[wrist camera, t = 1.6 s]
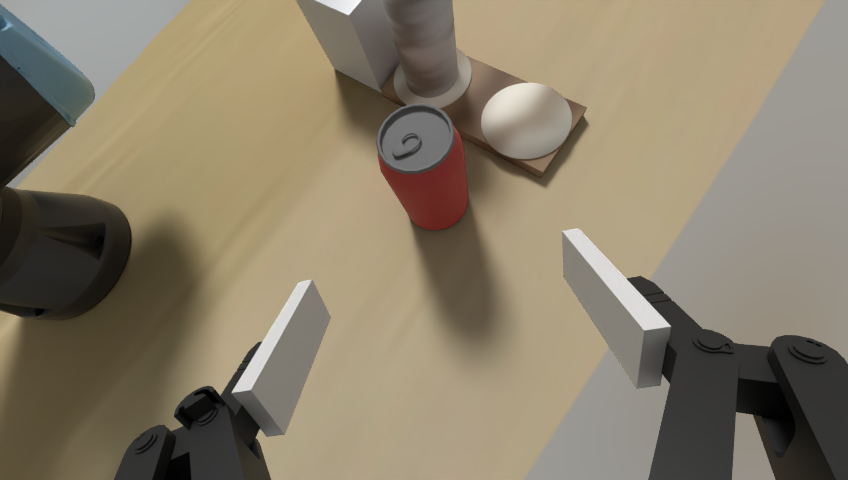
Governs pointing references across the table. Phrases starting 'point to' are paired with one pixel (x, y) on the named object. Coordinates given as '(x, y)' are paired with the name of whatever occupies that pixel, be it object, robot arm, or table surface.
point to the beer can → (424, 164)
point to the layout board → (474, 89)
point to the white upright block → (354, 38)
